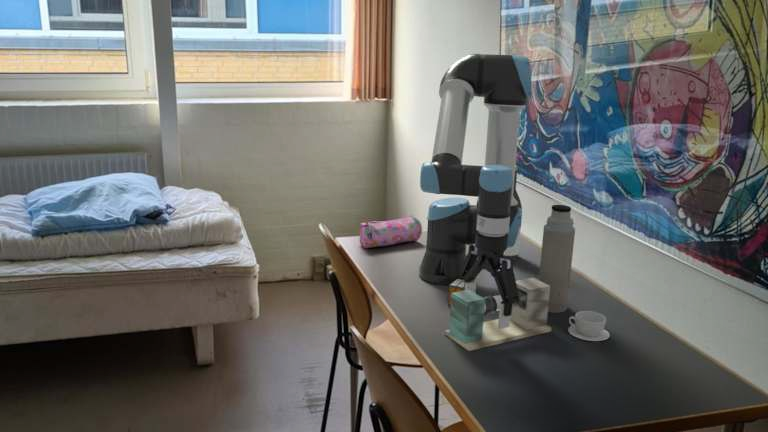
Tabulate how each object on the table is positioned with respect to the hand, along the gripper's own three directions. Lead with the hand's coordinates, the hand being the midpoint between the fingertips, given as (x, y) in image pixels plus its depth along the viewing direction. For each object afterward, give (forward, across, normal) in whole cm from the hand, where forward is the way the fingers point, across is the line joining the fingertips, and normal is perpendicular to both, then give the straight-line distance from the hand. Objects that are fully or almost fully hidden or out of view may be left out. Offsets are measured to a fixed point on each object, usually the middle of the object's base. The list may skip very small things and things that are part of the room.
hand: (485, 316), depth 174 cm
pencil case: (+5, -73, +15) cm, 75 cm away
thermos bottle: (+5, -7, +28) cm, 29 cm away
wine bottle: (+5, -46, +44) cm, 64 cm away
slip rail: (+5, 0, +4) cm, 7 cm away
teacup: (+5, +10, +25) cm, 27 cm away
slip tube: (-1, 0, +2) cm, 2 cm away
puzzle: (+5, -19, +7) cm, 21 cm away
